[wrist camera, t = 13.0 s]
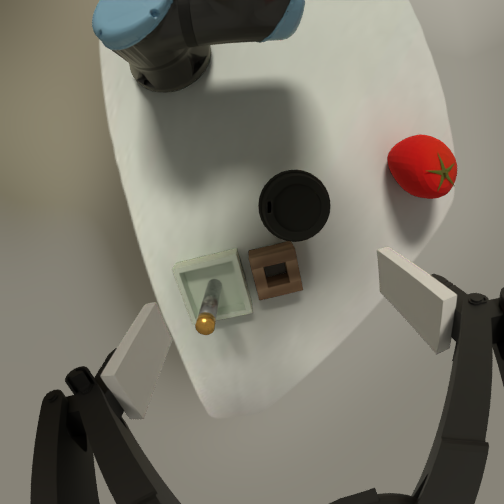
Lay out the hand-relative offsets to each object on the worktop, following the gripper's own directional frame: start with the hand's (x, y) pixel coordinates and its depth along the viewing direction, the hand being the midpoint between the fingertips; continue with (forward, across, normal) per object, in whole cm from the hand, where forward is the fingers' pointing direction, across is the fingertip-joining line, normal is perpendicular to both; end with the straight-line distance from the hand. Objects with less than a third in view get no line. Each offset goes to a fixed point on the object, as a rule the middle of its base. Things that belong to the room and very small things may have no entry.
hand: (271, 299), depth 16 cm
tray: (+37, -11, -13) cm, 40 cm away
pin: (+36, -11, -13) cm, 40 cm away
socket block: (+37, +1, -12) cm, 39 cm away
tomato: (+37, +31, +2) cm, 48 cm away
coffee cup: (+37, +5, 0) cm, 37 cm away
